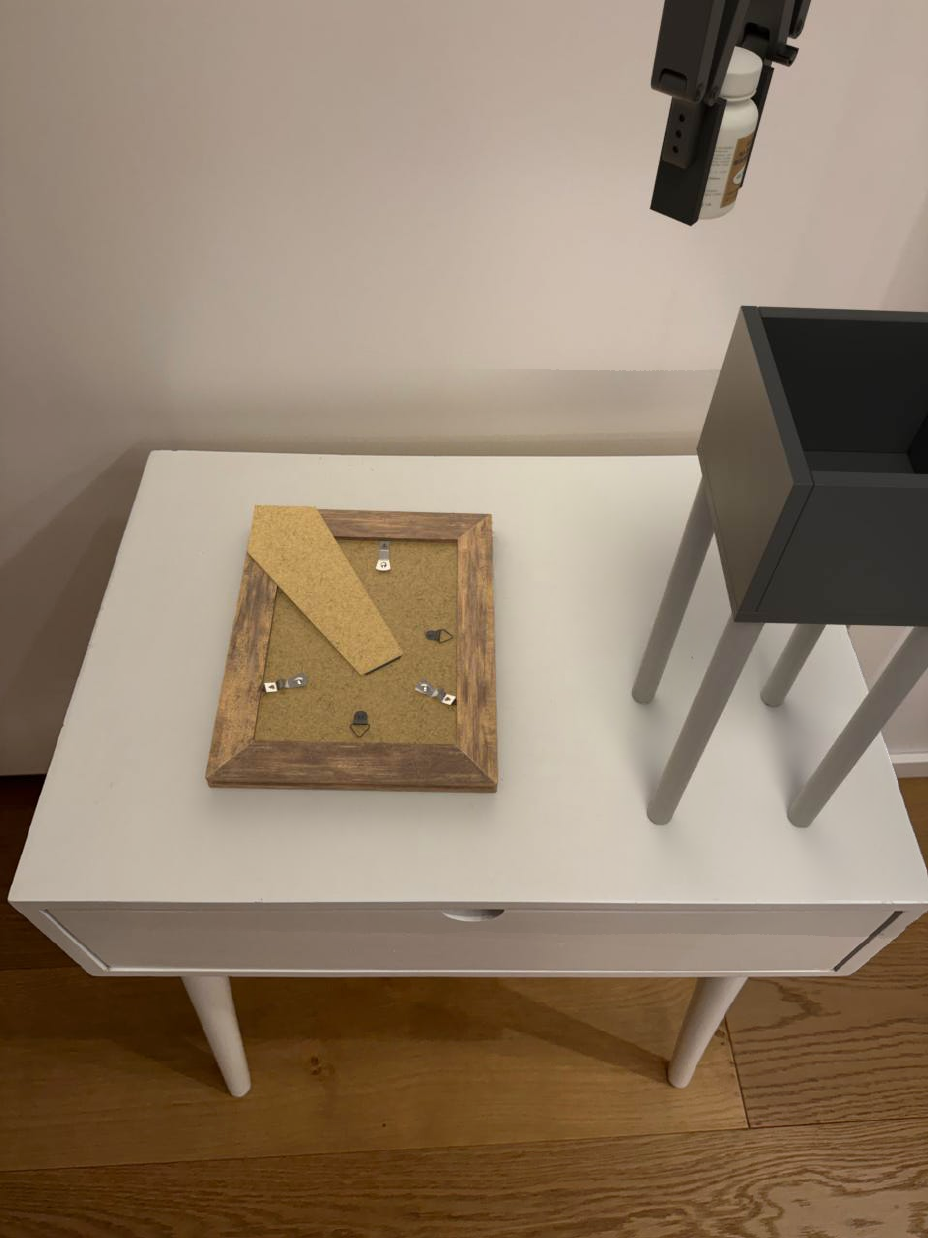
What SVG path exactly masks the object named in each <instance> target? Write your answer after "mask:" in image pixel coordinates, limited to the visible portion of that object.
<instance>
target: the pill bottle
mask: <svg viewBox="0 0 928 1238" xmlns="http://www.w3.org/2000/svg"><path fill="white" fill-rule="evenodd" d="M761 69H762V60H761V58H760V57H759V56H757V55H756V54H755V53H753V52H751V51H749V50H747V49H743V48H740V47H735V48H734V51H733V54H732V57H731V61H730V64H729V67H728V70H727V73H726V76H725V79H724V82H723V86H722V89H721V92H720V95H719V97H721V98H724V99H726V100H727V103H726V107H725V111H724V115H723V119H722V123H721V128H720V132H719V136H718V140H717V144H716V148H715V152H714V156H713V161H712V165H711V169H710V173H709V177H708V181H707V185H706V189H705V194H704V198H703V202H702V206H701V210H700V214H699V218H698V221H699V220H703V221H704V220H705V221H706V220H714V219H718V218H721V217H724V216H726V215H727V214H729V213H730V212H731V211H732V210H733V209H734V207H735V204H736V202H737V197H738V194H739V190H740V189H739V187H740V183H741V180H742V176H743V172H744V168H745V165H746V161H747V157H748V154H749V150H750V147H751V143H752V139H753V136H754V132H755V128H756V124H757V120H758V110H757V107H756V105H755V103H754V102H753V101H752V100H751V99H750V98H751V97H752V96H753V95H754V94H755V92H756V88H757V85H758V81H759V77H760V73H761Z"/></svg>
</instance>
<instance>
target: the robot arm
mask: <svg viewBox="0 0 928 1238" xmlns="http://www.w3.org/2000/svg"><path fill="white" fill-rule="evenodd" d="M811 3H812V0H664V2H663V8H662V14H661V19H660V24H659V30H658V37H657V42H656V49H655V53H654V60H653V66H652V72H651V77H650V88H651V90H653V91H656V92H658V93H660V94H661V93H662V94H664V95H667V96H669V97H671V100H670V105H669V109H668V113H667V114H668V115H667V121H666V125H665V130H664V135H663V141H662V145H661V150H660V155H659V160H658V164H657V171H656V176H655V181H654V186H653V191H652V196H651V200H650V206H649V210H651V211H652V212H655V213H657V214H660V215H663V216H665V217H668V218H670V219H672V220H675V221H676V222H678V223H682V224H684V225H687V226H688V227H692V226H694V225H695V224H696V223H698V221H699V219H698V218H699V214H700V210H701V206H702V202H703V198H704V194H705V189H706V185H707V181H708V177H709V173H710V169H711V165H712V161H713V156H714V152H715V148H716V144H717V140H718V136H719V132H720V128H721V123H722V119H723V115H724V111H725V107H726V103H727V100H726V99H724V98H721V97H719V95H720V92H721V89H722V86H723V82H724V79H725V76H726V73H727V70H728V67H729V64H730V61H731V57H732V54H733V51H734V48H735V47H740V48H743V49H747V50H749V51H751V52H753V53H755V54H756V55H757V56H759V57H760V58H761V60H762V69H761V73H760V77H759V81H758V85H757V88H756V92H755V94H754V95H753V96H752V97H751V98H750V99H751V100H752V101H753V102H754V103H755V105H756V107H757V110H758V120H757V124H756V128H755V132H754V136H753V139H752V143H751V147H750V150H749V154H748V157H747V161H746V165H745V168H744V172H743V176H742V180H741V183H740V187H739V190H740V189H741V188H743V186H744V182H745V179H746V175H747V171H748V167H749V163H750V160H751V156H752V153H753V149H754V145H755V142H756V138H757V135H758V130H759V127H760V123H761V120H762V115H763V112H764V108H765V105H766V101H767V98H768V94H769V90H770V87H771V83H772V80H773V76H774V72H775V67H773V66H772V64H773V63H775V64H779V65H782V66H784V67H788V68H790V67H791V66H792V65H793V64H794V63H795V60H796V59H797V56H798V54H799V51H800V48H799V47H796V46H793V45H790V44H788V38H789V39H792V40H797V39H798V38H799V37H800V36H801V34H802V32H803V30H804V29H805V24H806V20H807V17H808V13H809V10H810V6H811Z"/></svg>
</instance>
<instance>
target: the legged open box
mask: <svg viewBox="0 0 928 1238" xmlns="http://www.w3.org/2000/svg"><path fill="white" fill-rule="evenodd" d="M718 374H719V375H718V377H717V382H716V384H715V387H714V391H713V394H712V397H711V400H710V403H709V407H708V410H707V414H706V416H705V419H704V423H703V426H702V430H701V432H700V436H699V439H698V442H697V445H696V454H697V459H698V463H699V468H700V472H701V478H700V482H699V484H698V486H697V487H698V488H697V490H696V493H695V497H694V500H693V502H692V506H691V509H690V511H689V515H688V518H687V521H686V524H685V527H684V529H683V534H682V536H681V539H680V542H679V545H678V549H677V552H676V555H675V558H674V561H673V564H672V567H671V571H670V573H669V576H668V579H667V583H666V585H665V589H664V592H663V595H662V597H661V601H660V604H659V607H658V610H657V612H656V616H655V619H654V622H653V625H652V628H651V631H650V635H649V638H648V640H647V643H646V644H647V645H646V647H645V650H644V653H643V656H642V659H641V662H640V665H639V668H638V672H637V674H636V677H635V681H634V683H633V686H632V688H631V689H632V690H631V696H632V698H633V699H634V700H635V701H636V702H637V703H639V704H643V705H647V704H650V703H651V702H653V700H655V698H656V697H655V696H656V694H657V692H658V689H659V685H660V682H661V680H662V677H663V675H664V671H665V669H666V666H667V663H668V661H669V658H670V655H671V654H672V653H671V652H672V650H673V648H674V644H675V642H676V639H677V636H678V634H679V631H680V628H681V626H682V622H683V620H684V617H685V614H686V611H687V609H688V606H689V603H690V601H691V597H692V595H693V592H694V589H695V586H696V585H697V581H698V578H699V575H700V573H701V570H702V567H703V564H704V562H705V559H706V556H707V553H708V550H709V548H710V545H711V542H712V540H713V537H714V535H715V541H716V545H717V550H718V554H719V560H720V565H721V569H722V573H723V578H724V582H725V587H726V591H727V596H728V602H729V606H730V610H731V611H730V615H729V617H728V619H727V622H726V625H725V626H724V629H723V631H722V634H721V636H720V638H719V640H718V643H717V645H716V647H715V650H714V652H713V655H712V657H711V659H710V661H709V663H708V664H709V665H708V666H707V669H706V671H705V674H704V676H703V678H702V680H701V683H700V685H699V687H698V690H697V692H696V694H695V697H694V699H693V701H692V704H691V706H690V709H689V711H688V713H687V716H686V717H685V721H684V722H683V724H682V727H681V729H680V732H679V734H678V737H677V738H676V741H675V743H674V746H673V748H672V750H671V753H670V755H669V758H668V760H667V763H666V764H665V767H664V769H663V771H662V774H661V777H660V778H659V781H658V784H657V786H656V788H655V790H654V793H653V795H652V797H651V800H650V802H649V805H648V807H647V809H646V814H647V817H648V820H650V822H652V823H653V824H654V825H656V826H664V825H665V826H666V825H667V824H669V823H670V822H671V820H672V819H673V816H674V814H675V812H676V810H677V808H678V806H679V804H680V802H681V799H682V797H683V795H684V793H685V792H686V789H687V787H688V785H689V783H690V781H691V779H692V776H693V774H694V773H695V770H696V768H697V766H698V764H699V762H700V760H701V758H702V755H703V754H704V752H705V749H706V747H707V745H708V744H709V741H710V739H711V737H712V735H713V733H714V731H715V728H716V726H717V724H718V722H719V720H720V718H721V716H722V714H723V712H724V710H725V708H726V706H727V703H728V701H729V699H730V697H731V696H732V693H733V691H734V689H735V687H736V685H737V682H738V680H739V678H740V677H741V675H742V672H743V671H744V668H745V666H746V664H747V662H748V660H749V657H750V655H751V653H752V652H753V649H754V647H755V645H756V643H757V641H758V639H759V637H760V634H761V633H762V630H763V628H764V626H765V624H786V625H787V624H789V625H790V624H791V625H792V624H793V625H795V627H794V628H793V630H792V633H791V635H790V636H789V638H788V640H787V642H786V644H785V645H784V648H783V650H782V651H781V653H780V656H779V657H778V659H777V661H776V663H775V664H774V667H773V668H772V670H771V673H770V674H769V676H768V678H767V680H766V682H765V684H764V686H763V688H762V690H761V692H760V698H761V700H762V701H763V703H764V704H766V705H768V706H770V707H779V706H781V705H782V704H783V703H784V701H785V699H786V697H787V696H788V694H789V692H790V691H791V689H792V687H793V685H794V683H795V681H796V680H797V678H798V676H799V674H800V673H801V671H802V669H803V667H804V666H805V664H806V662H807V660H808V658H809V656H810V655H811V653H812V651H813V649H814V647H816V644H817V642H818V641H819V639H820V637H821V635H822V634H823V632H824V630H825V628H826V626H827V625H828V626H829V625H830V626H831V625H832V626H835V625H836V626H868V627H869V626H870V627H871V626H872V627H874V626H875V627H876V626H877V627H910V628H911V627H913V628H912V629H911V630H910V632H909V633H908V634H907V636H906V638H905V639H904V641H903V642H902V644H901V645H900V646H899V648H898V650H897V651H896V652H895V653H894V655H893V656H892V658H891V660H890V661H889V662H888V664H887V665H886V667H885V668H884V670H883V671H882V673H881V674H880V676H879V677H878V678H877V680H876V682H875V683H874V684H873V686H872V687H871V689H870V691H868V693H867V694H866V696H865V697H864V699H863V700H862V701H861V703H860V705H859V706H858V708H857V709H856V710H855V712H854V714H853V715H852V716H851V717H850V719H849V721H848V722H847V723H846V725H845V727H844V728H843V729H842V731H841V733H840V734H839V735H838V737H837V738H836V739H835V741H834V743H833V744H832V745H831V747H830V748H829V750H828V751H827V753H826V755H824V757H823V759H822V760H821V762H820V763H819V765H818V766H817V767H816V768H815V771H813V773H812V775H811V776H810V777H809V778H808V780H807V782H806V784H805V785H804V786H803V788H802V789H801V791H800V792H799V794H798V795H797V796H796V798H795V799H794V800H793V802H792V804H791V805H790V806H789V808H788V810H787V819H788V820H789V822H790V823H791V824H792V825H793V826H795V827H797V828H800V829H804V828H808V827H810V825H812V823H813V822H814V820H816V818H817V817H818V816H819V814H820V813H821V811H822V810H823V808H824V807H825V806H826V805H827V803H828V802H829V800H830V799H831V798H832V796H833V795H834V794H835V792H837V790H838V789H839V787H840V786H841V785H842V784H843V782H844V780H845V779H846V778H847V776H848V775H849V774H850V773H851V771H852V770H853V768H854V767H855V766H856V765H857V763H858V762H859V761H860V760H861V758H862V756H863V755H864V753H865V752H866V751H867V749H869V747H870V746H871V744H872V743H873V742H874V740H875V739H876V738H877V736H878V735H879V734H880V732H881V731H882V729H884V727H885V725H886V724H887V723H888V722H889V720H890V719H891V718H892V716H893V715H894V714H895V712H896V711H897V710H898V708H899V707H900V706H901V704H902V703H903V702H904V701H905V699H906V698H907V696H908V695H909V694H910V693H911V692H912V689H913V688H914V687H915V685H916V684H917V683H918V682H919V680H920V679H921V677H922V676H923V675H924V674H925V672H926V671H927V670H928V311H913V310H912V311H911V310H881V309H856V308H855V309H854V308H853V309H852V308H851V309H849V308H824V307H823V308H822V307H795V306H768V305H767V306H764V305H763V306H762V305H760V306H757V305H740V307H739V310H738V312H737V317H736V320H735V322H734V327H733V329H732V332H731V335H730V339H729V343H728V345H727V349H726V352H725V355H724V358H723V363H722V365H721V369H720V371H719V373H718Z"/></svg>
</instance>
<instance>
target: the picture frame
mask: <svg viewBox="0 0 928 1238" xmlns="http://www.w3.org/2000/svg"><path fill="white" fill-rule="evenodd" d="M493 547H494V545H493V515H492V513H476V512H475V513H473V512H472V513H471V512H470V513H469V512H441V511H439V512H436V511H403V510H402V511H400V510H367V509H365V510H364V509H362V510H361V509H335V508H334V509H332V508H331V509H329V508H317V507H316V506H306V505H305V506H303V505H274V504H273V505H271V504H269V505H268V504H254V508H253V513H252V519H251V526H250V532H249V536H248V542H247V548H246V554H245V557H244V565H243V570H242V576H241V581H240V585H239V591H238V597H237V601H236V608H235V612H234V618H233V623H232V628H231V634H230V639H229V645H228V650H227V655H226V661H225V667H224V671H223V677H222V682H221V687H220V694H219V699H218V703H217V709H216V715H215V721H214V726H213V732H212V736H211V741H210V746H209V752H208V757H207V763H206V768H205V775H204V778H205V781H206V782H207V783H206V784H207V786H208V788H228V789H230V788H231V789H274V790H275V789H277V790H279V789H280V790H282V789H283V790H327V791H329V790H332V791H335V790H336V791H340V790H341V791H377V792H379V791H382V792H386V791H387V792H434V793H435V792H436V793H437V792H438V793H481V794H482V793H483V794H484V793H485V794H486V793H487V794H488V793H490V794H495V793H497V791H498V785H499V770H498V769H499V767H498V766H499V765H498V763H499V762H498V727H497V725H498V724H497V723H498V722H497V721H498V720H497V684H496V683H497V679H496V638H495V636H496V635H495V632H496V631H495V595H494V594H495V593H494V553H493V552H494V551H493V550H494V548H493Z"/></svg>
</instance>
